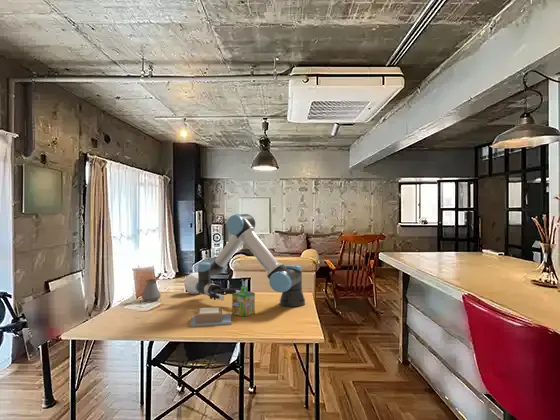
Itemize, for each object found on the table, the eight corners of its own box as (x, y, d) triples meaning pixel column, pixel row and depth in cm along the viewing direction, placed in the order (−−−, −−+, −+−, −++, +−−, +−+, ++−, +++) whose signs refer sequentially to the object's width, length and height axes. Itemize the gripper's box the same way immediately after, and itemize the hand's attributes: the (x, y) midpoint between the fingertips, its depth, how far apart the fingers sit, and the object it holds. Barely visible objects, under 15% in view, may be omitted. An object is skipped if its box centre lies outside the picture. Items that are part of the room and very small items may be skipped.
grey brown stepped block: (230, 315, 213) (230, 305, 213) (231, 324, 197) (231, 313, 197) (192, 317, 210) (192, 307, 210) (190, 326, 194) (190, 315, 194)
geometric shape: (200, 300, 271) (213, 281, 274) (192, 296, 257) (205, 277, 260) (185, 288, 276) (198, 270, 279) (176, 284, 262) (190, 266, 265)
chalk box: (231, 314, 214) (231, 287, 214) (242, 311, 222) (242, 284, 222) (244, 317, 209) (244, 289, 209) (255, 313, 217) (255, 286, 216)
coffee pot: (156, 302, 243) (155, 278, 243) (138, 302, 245) (137, 278, 244) (169, 295, 264) (169, 272, 264) (153, 294, 266) (153, 272, 266)
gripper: (230, 293, 247) (250, 299, 231) (194, 300, 230) (214, 306, 214) (229, 281, 247) (250, 286, 231) (194, 287, 230) (214, 292, 214)
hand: (233, 296), depth 222 cm, fingers open, 13 cm apart
